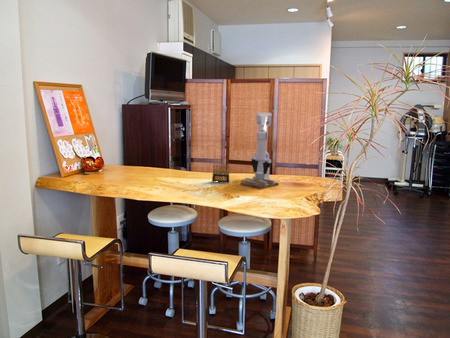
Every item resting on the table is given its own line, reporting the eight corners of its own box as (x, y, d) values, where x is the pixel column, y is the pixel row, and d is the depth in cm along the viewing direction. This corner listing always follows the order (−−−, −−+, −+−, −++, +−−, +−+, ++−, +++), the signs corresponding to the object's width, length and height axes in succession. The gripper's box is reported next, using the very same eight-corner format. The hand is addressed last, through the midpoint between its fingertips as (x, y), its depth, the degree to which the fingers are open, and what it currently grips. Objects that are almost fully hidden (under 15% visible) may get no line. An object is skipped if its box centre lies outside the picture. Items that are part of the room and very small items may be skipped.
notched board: (258, 180, 244) (258, 175, 243) (278, 185, 233) (278, 179, 232) (240, 184, 231) (240, 178, 230) (260, 189, 220) (260, 183, 219)
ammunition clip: (212, 181, 235) (212, 163, 233) (212, 181, 237) (213, 162, 235) (228, 183, 233) (229, 164, 231) (229, 182, 235) (230, 163, 233)
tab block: (258, 181, 234) (259, 172, 233) (264, 182, 231) (264, 173, 230) (254, 182, 231) (255, 172, 230) (260, 183, 229) (260, 173, 228)
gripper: (247, 150, 230) (246, 171, 232) (266, 153, 220) (265, 175, 223) (255, 149, 235) (254, 170, 238) (273, 152, 225) (272, 174, 228)
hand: (260, 173), depth 230 cm, fingers open, 7 cm apart
